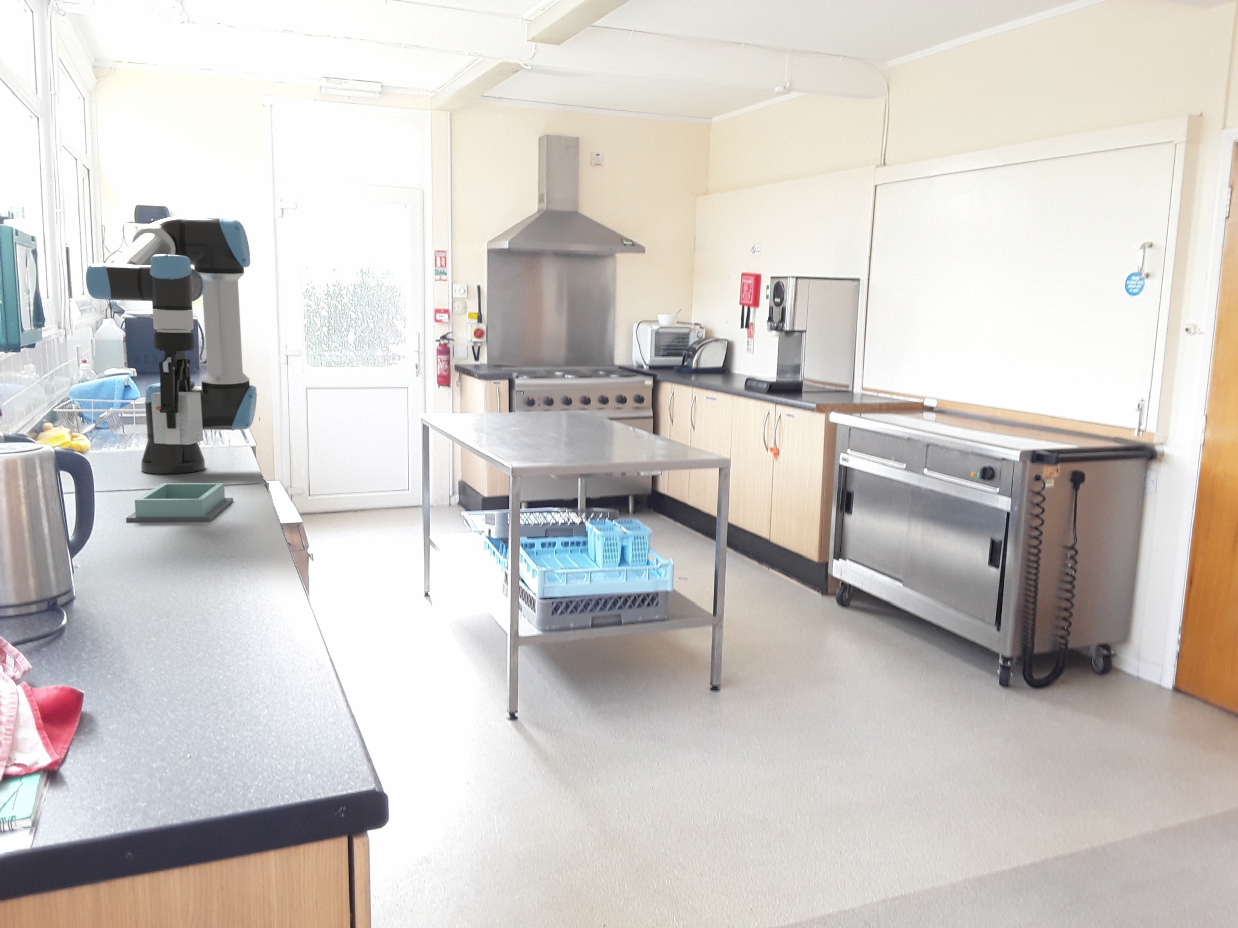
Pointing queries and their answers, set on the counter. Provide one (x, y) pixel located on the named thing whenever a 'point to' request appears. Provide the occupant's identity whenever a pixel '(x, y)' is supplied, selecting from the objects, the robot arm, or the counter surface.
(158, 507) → the caddy
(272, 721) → the counter surface
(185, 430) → the small box
